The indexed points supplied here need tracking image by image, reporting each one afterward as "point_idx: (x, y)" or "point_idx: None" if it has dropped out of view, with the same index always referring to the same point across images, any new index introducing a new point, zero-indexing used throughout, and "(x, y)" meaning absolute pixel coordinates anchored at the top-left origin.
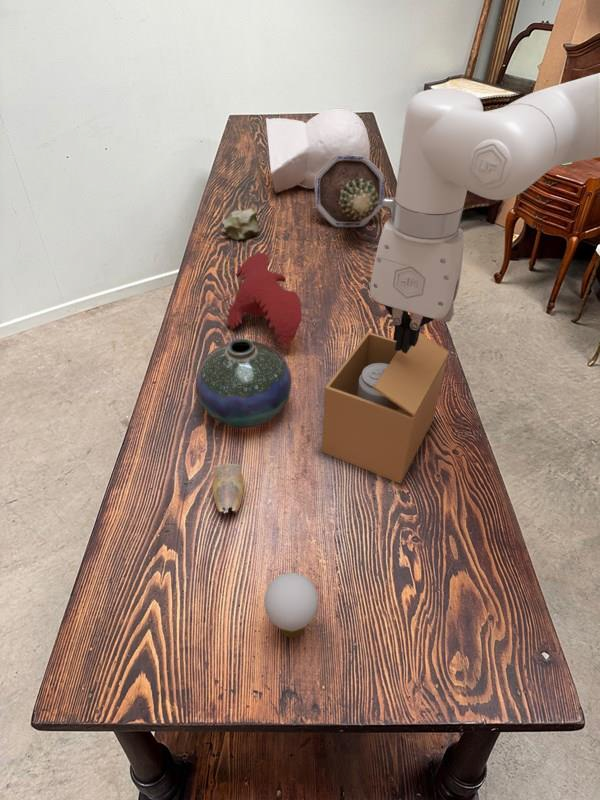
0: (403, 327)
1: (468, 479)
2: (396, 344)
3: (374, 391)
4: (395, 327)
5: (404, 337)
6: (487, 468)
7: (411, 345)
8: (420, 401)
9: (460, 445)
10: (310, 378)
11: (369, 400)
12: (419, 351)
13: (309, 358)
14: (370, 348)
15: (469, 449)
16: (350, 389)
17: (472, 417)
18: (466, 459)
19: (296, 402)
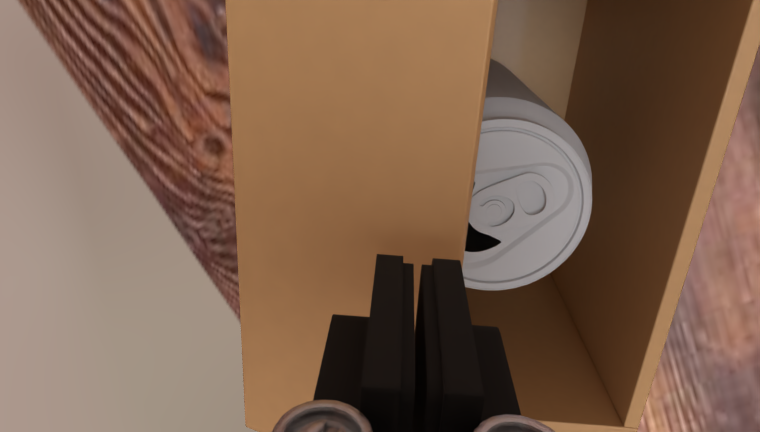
0: (436, 406)
1: (143, 57)
2: (458, 282)
3: (500, 109)
4: (512, 404)
5: (406, 330)
6: (114, 122)
7: (354, 316)
8: (232, 35)
9: (210, 177)
10: (721, 264)
11: (508, 90)
12: None
13: (744, 343)
14: (586, 374)
15: (183, 172)
16: (596, 188)
17: (218, 290)
18: (176, 131)
19: (745, 146)
